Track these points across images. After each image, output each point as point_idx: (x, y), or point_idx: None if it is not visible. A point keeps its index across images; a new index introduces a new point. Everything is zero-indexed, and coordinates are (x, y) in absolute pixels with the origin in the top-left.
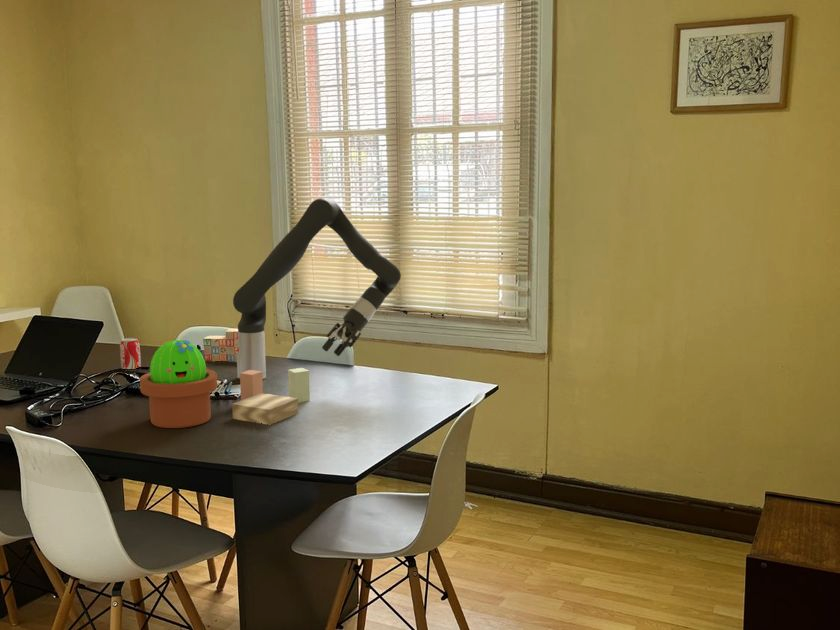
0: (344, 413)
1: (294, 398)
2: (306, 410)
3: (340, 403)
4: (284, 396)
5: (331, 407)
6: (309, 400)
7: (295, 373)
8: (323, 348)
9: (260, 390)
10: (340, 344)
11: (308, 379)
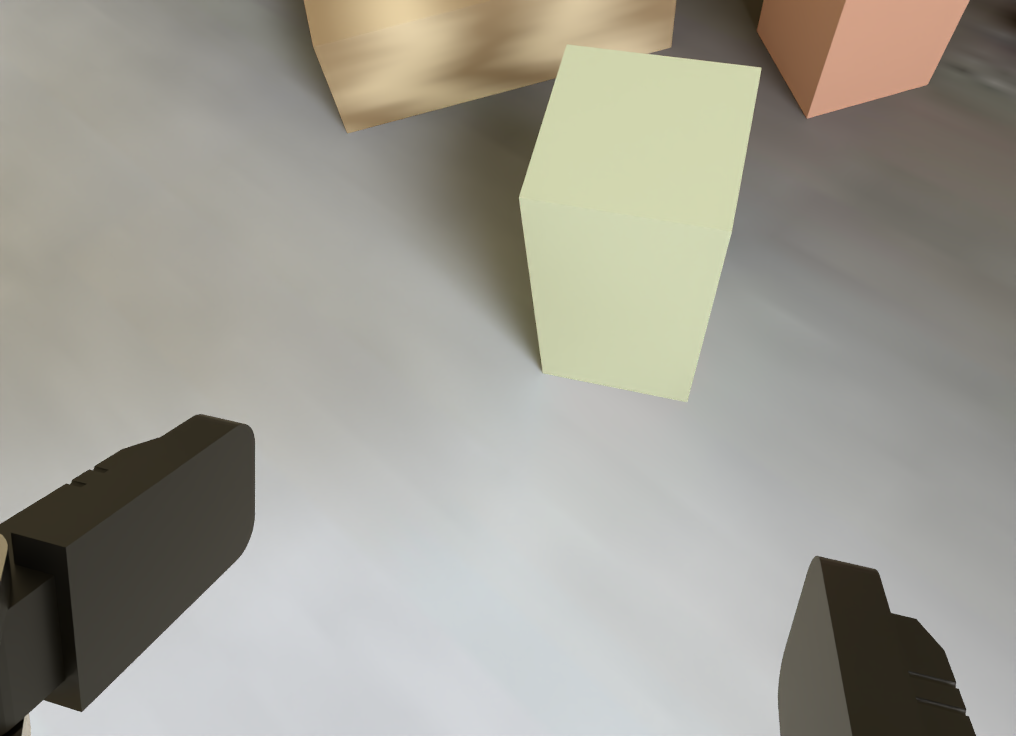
0: (42, 336)
1: (334, 29)
2: (344, 199)
3: None
4: (445, 9)
5: (236, 370)
6: (544, 370)
7: (563, 59)
8: (808, 573)
9: (818, 13)
10: (42, 520)
11: (530, 255)
